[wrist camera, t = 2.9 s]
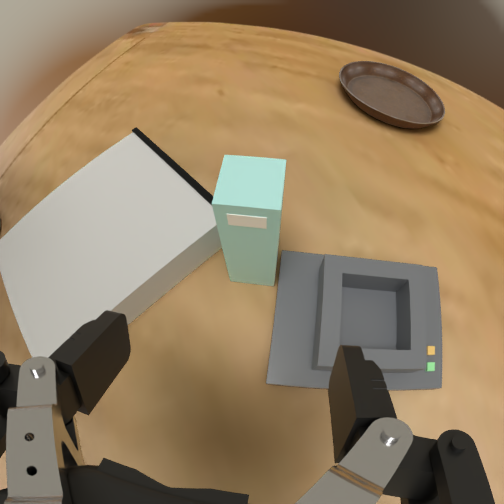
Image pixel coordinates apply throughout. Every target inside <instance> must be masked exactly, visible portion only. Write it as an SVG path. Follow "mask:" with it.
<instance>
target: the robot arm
mask: <svg viewBox="0 0 504 504" xmlns="http://www.w3.org/2000/svg"><path fill="white" fill-rule="evenodd" d="M0 227H1V220H0ZM130 350H131V347H130V340H129V333H128V326H127V319H126V316H125V314H123V313H118V312H113V311H109V310H106V311H104V312H103V313H102V314H101V315H100V316H99V317H98V318H97V319H96V320H92V321H89V322H87V323H85V324H83V325H82V326H81V327H80V328H79V329H78V330H77V331H76V332H75V333H73V334H72V335H71V336H70V337H69V339H67V340H66V341H65V342H64V343H63V344H62V345H61V346H60V347H59V348H58V349H57V350H56V351H54V352H53V353H52V354H51V355H50V356H49V357H48V358H47V357H43V356H38V357H33V358H30V359H28V360H26V361H25V362H24V363H23V364H22V365H21V366H20V365H14V364H8V363H7V360H6V358H5V355H4V353H3V352H1V351H0V457H1V456H2V455H3V453H4V452H5V450H6V468H7V486H8V488H6V489H2V490H0V504H248V497H249V495H247V494H240V493H233V492H227V491H221V490H215V489H191V488H170V487H167V486H165V485H163V484H161V483H159V482H157V481H155V480H153V479H151V478H150V477H148V476H146V475H144V474H143V473H141V472H139V471H138V470H136V469H133V468H130V467H127V466H124V465H122V464H119V463H116V462H113V461H111V460H108V459H105V458H103V460H102V462H101V463H100V465H99V466H96V465H85V462H84V459H83V455H82V451H81V446H80V440H79V435H78V429H77V423H76V419H75V416H74V415H75V414H76V412H77V411H79V412H82V413H84V414H87V415H89V414H90V413H91V411H92V410H93V408H94V407H95V406H96V404H97V403H98V401H99V400H100V399H101V397H102V396H103V394H104V393H105V392H106V390H107V389H108V387H109V386H110V385H111V383H112V382H113V380H114V379H115V378H116V376H117V375H118V373H119V372H120V371H121V369H122V368H123V367H124V365H125V364H126V362H127V361H128V359H129V356H130ZM328 394H329V404H330V413H331V424H332V435H333V446H334V459H335V463H339V464H338V465H337V466H333V467H331V468H330V469H329V470H328V471H327V472H326V473H325V474H324V475H323V476H322V477H321V478H320V479H319V481H318V482H317V483H316V484H315V485H314V486H313V487H312V488H311V489H310V490H309V491H308V492H307V493H306V494H304V495H303V496H302V497H301V498H300V499H299V500H298V501H297V502H296V503H295V504H376V502H377V501H378V500H379V498H380V497H381V495H382V494H384V495H390V496H395V497H400V498H401V504H495V502H494V499H493V495H492V492H491V489H490V485H489V482H488V479H487V476H486V473H485V470H484V467H483V464H482V462H481V459H480V456H479V453H478V451H477V448H476V445H475V443H474V441H473V439H472V438H471V437H470V436H469V435H468V434H466V433H465V432H463V431H460V430H448V431H445V432H444V433H442V434H441V435H440V437H439V438H438V440H435V439H429V438H423V437H418V436H415V435H413V434H412V431H411V429H410V428H409V426H408V425H407V424H405V423H404V422H402V421H401V420H398V419H397V417H396V413H395V410H394V407H393V404H392V401H391V398H390V395H389V392H388V390H387V385H386V382H385V381H384V377H383V374H382V371H381V369H380V368H379V367H378V366H377V364H376V363H375V362H374V361H373V360H365V358H364V355H363V352H362V348H361V347H360V346H349V345H340V346H339V348H338V351H337V355H336V358H335V362H334V365H333V369H332V372H331V376H330V380H329V388H328Z"/></svg>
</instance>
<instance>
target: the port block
mask: <svg viewBox="0 0 504 504" xmlns="http://www.w3.org/2000/svg"><path fill="white" fill-rule="evenodd" d="M340 345H349V346H360V347H361V348H362V352H363V355H364V358H365V360H373V361H374V362H375V363H376V364H377V366H378V367H379V368H380V369H381V371H382V374H383V377H384V381H385V382H386V385H387V390H388V391H390V390H424V389H438V388H441V387H442V324H441V306H440V293H439V282H438V273H437V268H436V267H428V266H422V265H416V264H407V263H399V262H390V261H381V260H372V259H363V258H354V257H346V256H337V255H328V254H325V255H321V254H312V253H303V252H294V251H285V250H282V255H281V264H280V273H279V282H278V291H277V300H276V308H275V317H274V325H273V333H272V341H271V349H270V357H269V365H268V372H267V380H266V384H272V385H282V386H292V387H304V388H318V389H328V388H329V380H330V376H331V372H332V369H333V365H334V362H335V358H336V355H337V351H338V348H339V346H340Z"/></svg>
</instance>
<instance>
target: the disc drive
mask: <svg viewBox="0 0 504 504" xmlns="http://www.w3.org/2000/svg"><path fill="white" fill-rule="evenodd" d="M132 132H133V133H131V134H130V135H128V136H127V137H125V138H124V139H122V140H121V141H119V142H118V143H116V144H115V145H113V146H112V147H110V148H109V149H107V150H106V151H105V152H103V153H102V154H100V155H99V156H98V157H96V158H95V159H93V160H92V161H91V162H89V163H88V164H87V165H85V166H84V167H83V168H81V169H80V170H79V171H77V172H76V173H75V174H74V175H72V176H71V177H70V178H68V179H67V180H66V181H65V182H63V183H62V184H61V185H60V186H59V187H57V188H56V189H55V190H54V191H52V192H51V193H50V194H49V195H48V196H47V197H45V198H44V199H43V200H42V201H41V202H40V203H38V204H37V205H36V206H35V207H34V208H33V209H32V210H31V211H30V212H28V213H27V214H26V215H25V216H24V217H23V218H22V219H21V220H20V221H19V222H18V223H17V224H16V225H15V226H13V227H12V228H11V229H10V230H9V231H8V232H7V233H6V234H5V235H4V236H3V237H2V238H1V239H0V272H1V275H2V279H3V282H4V285H5V288H6V291H7V295H8V298H9V301H10V303H11V306H12V309H13V312H14V315H15V317H16V320H17V323H18V325H19V328H20V330H21V333H22V335H23V338H24V340H25V342H26V345H27V347H28V349H29V352H30V354H31V356H32V358H33V357H38V356H43V357H47V358H48V357H49V356H50V355H51V354H52V353H53V352H54V351H56V350H57V349H58V348H59V347H60V346H61V345H62V344H63V343H64V342H65V341H66V340H67V339H69V337H70V336H71V335H72V334H73V333H75V332H76V331H77V330H78V329H79V328H80V327H81V326H82V325H83V324H85V323H87V322H89V321H92V320H96V319H97V318H98V317H99V316H100V315H101V314H102V313H103V312H104V311H106V310H109V311H113V312H118V313H123V314H125V316H126V319H127V325H128V324H130V323H131V322H132V321H133V320H134V319H136V318H137V317H138V316H139V315H140V314H142V313H143V312H144V311H145V310H146V309H148V308H149V307H150V306H151V305H152V304H154V303H155V302H156V301H157V300H158V299H160V298H161V297H162V296H163V295H164V294H166V293H167V292H168V291H169V290H171V289H172V288H173V287H174V286H175V285H177V284H178V283H179V282H180V281H181V280H183V279H184V278H185V277H186V276H188V275H189V274H190V273H191V272H193V271H194V270H195V269H196V268H197V267H199V266H200V265H201V264H202V263H204V262H205V261H206V260H207V259H209V258H210V257H211V256H212V255H213V254H215V253H216V252H217V251H218V250H220V249H221V248H222V245H221V241H220V237H219V233H218V228H217V224H216V220H215V216H214V212H213V207H212V201H213V196H212V195H211V194H210V193H209V192H208V191H207V190H205V189H204V188H203V187H202V186H201V185H200V184H199V183H198V182H197V181H196V180H194V179H193V178H192V177H191V176H190V175H189V174H188V173H187V172H186V171H185V170H183V169H182V168H181V167H180V166H179V165H178V164H177V163H176V162H175V161H173V160H172V159H171V158H170V157H169V156H168V155H167V154H166V153H165V152H163V151H162V150H161V149H160V148H159V147H158V146H157V145H156V144H154V143H153V142H152V141H151V140H150V139H149V138H148V137H147V136H146V135H144V134H143V133H142V132H141V131H140V130H139V129H138V128H137V127H136V128H134V129H133V130H132Z"/></svg>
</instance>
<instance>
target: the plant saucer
mask: <svg viewBox="0 0 504 504" xmlns="http://www.w3.org/2000/svg"><path fill="white" fill-rule="evenodd" d="M339 78H340V81H341V84H342V86H343V88H344V90H345V91H346V93H347V94H348V96H349V97H350V98H351V100H352V101H353V102H354V103H355V104H356V105H357V106H358V107H359V108H361V109H362V110H363V111H364V112H366V113H367V114H369V115H371V116H373V117H374V118H376V119H378V120H380V121H383V122H385V123H388V124H391V125H394V126H398V127H402V128H411V129H415V128H422V127H426V126H429V125H432V124H435V123H437V122H438V121H440V120H441V119H442V118H443V117H444V115H445V108H444V105H443V102H442V101H441V99H440V97H439V96H438V95H437V94H436V92H435V91H434V90H433V89H432V88H430V87H429V86H428V85H427V84H426V83H425V82H423V81H422V80H420V79H419V78H417V77H416V76H414V75H412V74H410V73H408V72H406V71H404V70H402V69H399V68H397V67H394V66H391V65H387V64H383V63H378V62H371V61H358V62H352V63H349V64H347V65H345V66H344V67H342V68H341V70H340V72H339Z"/></svg>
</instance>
